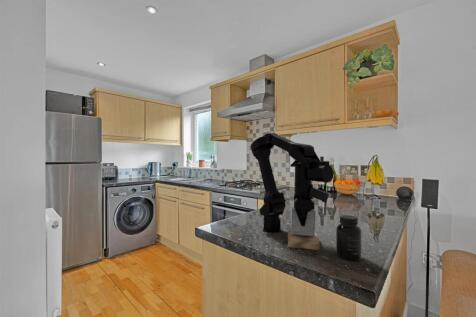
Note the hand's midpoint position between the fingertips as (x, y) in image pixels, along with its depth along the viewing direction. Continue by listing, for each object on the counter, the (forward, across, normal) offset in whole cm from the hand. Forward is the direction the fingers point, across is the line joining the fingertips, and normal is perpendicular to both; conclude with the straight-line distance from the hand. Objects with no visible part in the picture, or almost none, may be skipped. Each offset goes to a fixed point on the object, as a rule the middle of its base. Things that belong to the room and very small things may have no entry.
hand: (302, 224), depth 78 cm
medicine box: (+4, 0, 0) cm, 4 cm away
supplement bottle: (+7, -8, -13) cm, 17 cm away
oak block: (+7, 0, 0) cm, 7 cm away
